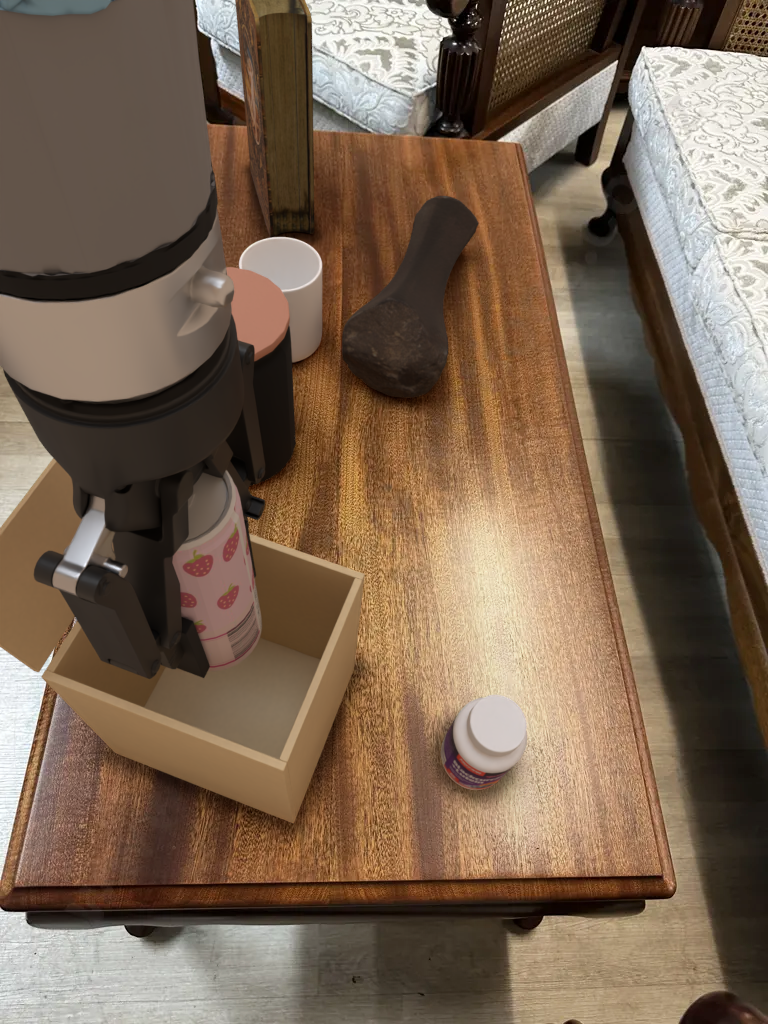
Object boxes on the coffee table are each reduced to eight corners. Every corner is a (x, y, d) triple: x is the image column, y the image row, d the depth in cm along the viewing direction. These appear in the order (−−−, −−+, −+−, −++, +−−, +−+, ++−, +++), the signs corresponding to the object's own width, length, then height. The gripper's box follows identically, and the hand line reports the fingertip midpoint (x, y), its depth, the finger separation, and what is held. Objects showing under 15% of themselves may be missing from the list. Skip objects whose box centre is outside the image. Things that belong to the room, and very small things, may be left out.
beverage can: (173, 588, 46) (116, 444, 33) (263, 586, 46) (242, 444, 34) (163, 675, 43) (97, 553, 30) (261, 672, 43) (236, 551, 31)
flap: (39, 672, 40) (34, 671, 41) (153, 495, 47) (148, 494, 47) (-54, 606, 35) (-60, 605, 35) (90, 415, 42) (85, 415, 42)
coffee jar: (218, 394, 76) (192, 251, 60) (312, 426, 74) (310, 287, 59) (168, 471, 70) (126, 335, 55) (269, 506, 69) (255, 377, 54)
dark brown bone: (399, 425, 78) (448, 285, 95) (460, 369, 70) (501, 228, 88) (316, 366, 75) (383, 232, 92) (370, 301, 67) (432, 169, 84)
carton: (114, 752, 56) (40, 677, 41) (193, 609, 63) (153, 499, 48) (293, 823, 54) (283, 771, 39) (354, 668, 61) (365, 573, 46)
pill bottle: (437, 786, 56) (457, 756, 48) (442, 718, 59) (461, 679, 51) (505, 796, 56) (537, 767, 48) (507, 727, 59) (537, 689, 51)
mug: (209, 361, 78) (194, 286, 69) (219, 308, 82) (207, 231, 74) (320, 368, 79) (319, 294, 70) (324, 315, 83) (324, 239, 74)
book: (248, 165, 97) (228, -56, 76) (288, 161, 98) (279, -58, 77) (271, 243, 89) (255, 19, 68) (314, 238, 90) (312, 16, 69)
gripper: (58, 610, 18) (195, 794, 38) (331, 197, 28) (326, 514, 47) (-196, 515, 19) (67, 743, 39) (155, 147, 29) (222, 478, 48)
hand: (210, 616), depth 43 cm, fingers closed on beverage can, 6 cm apart
